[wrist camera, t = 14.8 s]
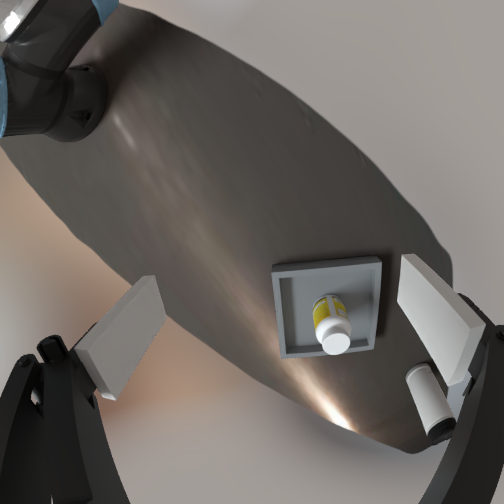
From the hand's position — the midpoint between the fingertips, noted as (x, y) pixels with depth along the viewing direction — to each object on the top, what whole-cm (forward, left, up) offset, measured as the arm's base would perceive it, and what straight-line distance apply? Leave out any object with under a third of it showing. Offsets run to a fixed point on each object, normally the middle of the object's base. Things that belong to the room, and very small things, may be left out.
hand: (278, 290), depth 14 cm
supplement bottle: (+18, +6, -27) cm, 33 cm away
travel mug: (+39, +28, -28) cm, 56 cm away
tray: (+18, +6, -28) cm, 34 cm away
